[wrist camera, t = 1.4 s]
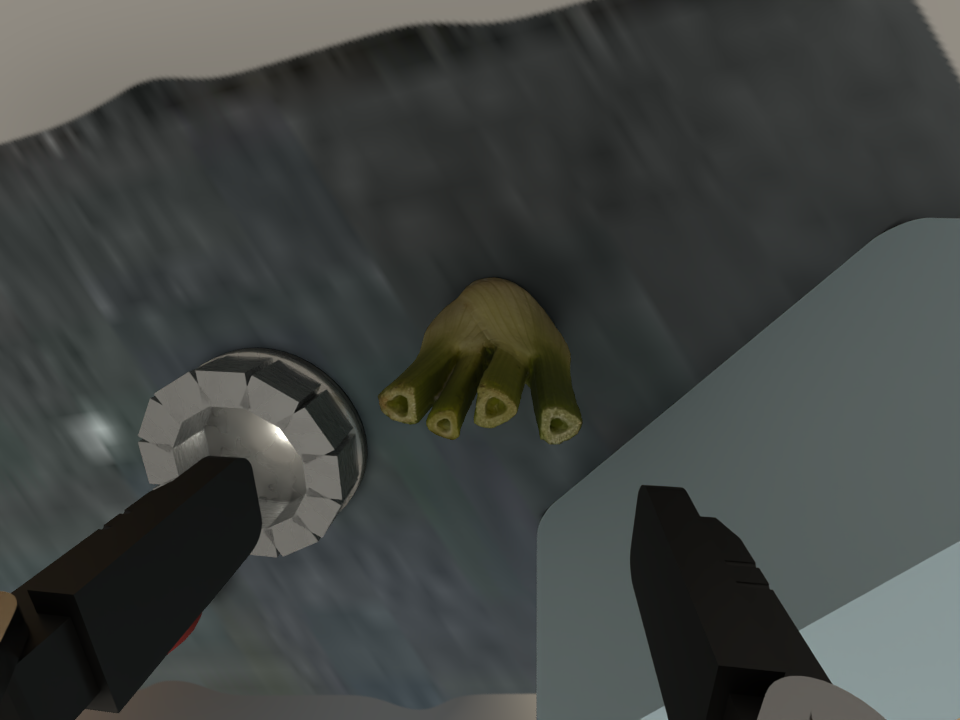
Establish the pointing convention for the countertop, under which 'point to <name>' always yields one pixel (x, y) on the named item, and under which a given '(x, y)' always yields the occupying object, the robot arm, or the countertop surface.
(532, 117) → the countertop surface
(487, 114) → the countertop surface
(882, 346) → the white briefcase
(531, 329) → the fennel bulb
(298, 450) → the white low ring
